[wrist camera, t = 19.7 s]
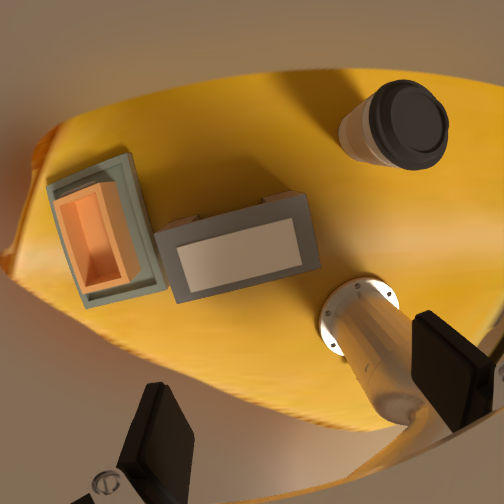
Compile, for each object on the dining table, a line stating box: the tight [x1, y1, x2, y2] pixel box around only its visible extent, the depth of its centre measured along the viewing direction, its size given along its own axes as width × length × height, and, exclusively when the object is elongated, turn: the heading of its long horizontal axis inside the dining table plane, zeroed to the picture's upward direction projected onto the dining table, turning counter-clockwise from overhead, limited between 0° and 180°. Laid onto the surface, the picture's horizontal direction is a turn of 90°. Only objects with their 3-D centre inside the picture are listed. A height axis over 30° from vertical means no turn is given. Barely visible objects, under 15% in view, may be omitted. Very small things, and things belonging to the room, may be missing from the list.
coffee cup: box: [338, 80, 449, 170], centre depth 30 cm, size 9×9×15 cm
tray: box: [46, 153, 170, 309], centre depth 38 cm, size 18×13×2 cm
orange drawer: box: [53, 181, 141, 294], centre depth 35 cm, size 12×7×5 cm, turn 14°
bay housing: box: [154, 190, 321, 304], centre depth 36 cm, size 16×8×8 cm, turn 104°
